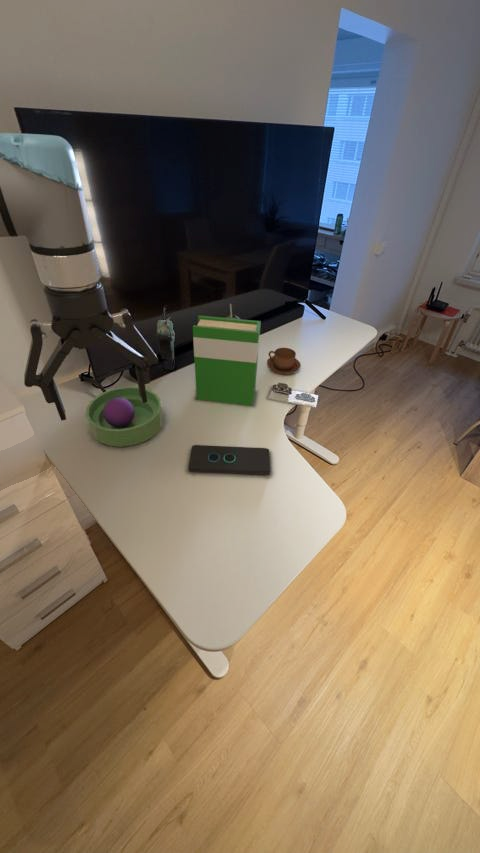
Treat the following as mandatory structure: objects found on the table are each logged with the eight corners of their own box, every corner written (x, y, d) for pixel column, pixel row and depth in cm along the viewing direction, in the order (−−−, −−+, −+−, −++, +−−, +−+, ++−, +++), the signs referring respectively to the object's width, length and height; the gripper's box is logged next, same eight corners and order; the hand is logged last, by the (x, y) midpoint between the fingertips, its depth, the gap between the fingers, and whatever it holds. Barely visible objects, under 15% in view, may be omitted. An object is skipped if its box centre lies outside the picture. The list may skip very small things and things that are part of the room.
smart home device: (192, 443, 89) (269, 447, 89) (192, 448, 90) (268, 452, 90) (188, 467, 83) (270, 471, 83) (188, 472, 84) (269, 476, 84)
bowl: (75, 435, 92) (69, 418, 88) (120, 396, 106) (116, 380, 102) (137, 456, 87) (134, 439, 83) (175, 412, 101) (174, 396, 97)
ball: (110, 431, 96) (91, 414, 90) (124, 409, 100) (107, 391, 94) (131, 433, 92) (113, 415, 86) (144, 410, 96) (128, 391, 90)
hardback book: (196, 399, 107) (192, 326, 91) (201, 386, 112) (198, 315, 96) (252, 405, 105) (258, 332, 90) (255, 391, 111) (260, 321, 95)
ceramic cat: (176, 372, 118) (170, 316, 105) (157, 372, 117) (149, 316, 104) (180, 345, 133) (176, 293, 120) (163, 344, 132) (157, 292, 119)
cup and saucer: (264, 374, 119) (265, 358, 115) (268, 357, 128) (270, 342, 124) (298, 379, 118) (301, 363, 114) (300, 361, 127) (303, 346, 123)
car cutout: (268, 398, 108) (269, 387, 106) (272, 387, 113) (274, 375, 110) (315, 408, 106) (318, 396, 103) (318, 396, 111) (320, 384, 108)
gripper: (156, 267, 53) (168, 381, 67) (-33, 282, 45) (25, 410, 59) (169, 282, 48) (179, 403, 62) (-41, 303, 40) (25, 437, 53)
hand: (105, 406), depth 60 cm, fingers open, 13 cm apart
